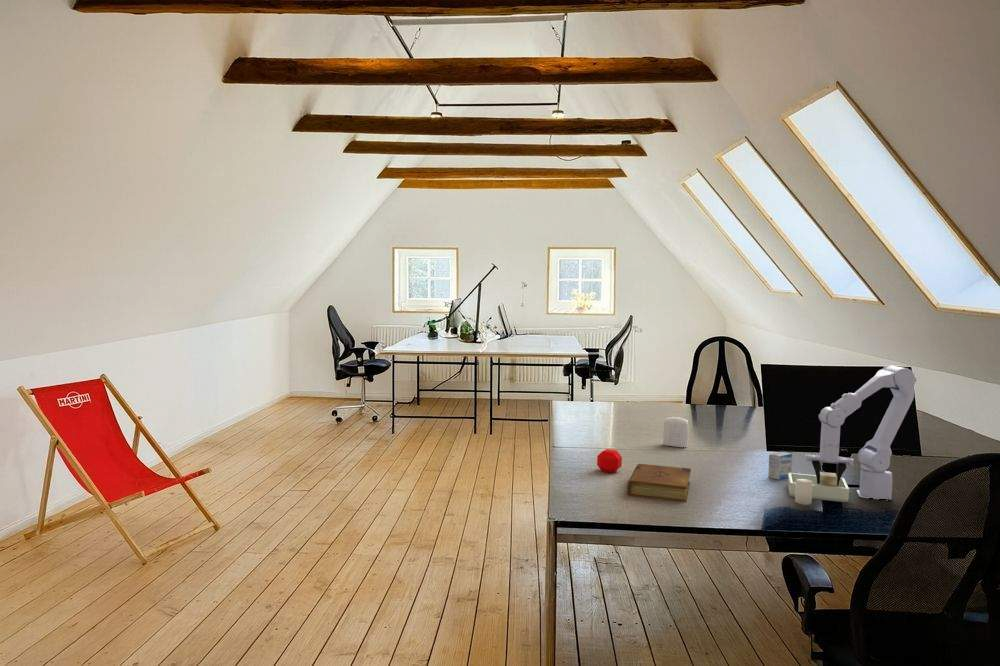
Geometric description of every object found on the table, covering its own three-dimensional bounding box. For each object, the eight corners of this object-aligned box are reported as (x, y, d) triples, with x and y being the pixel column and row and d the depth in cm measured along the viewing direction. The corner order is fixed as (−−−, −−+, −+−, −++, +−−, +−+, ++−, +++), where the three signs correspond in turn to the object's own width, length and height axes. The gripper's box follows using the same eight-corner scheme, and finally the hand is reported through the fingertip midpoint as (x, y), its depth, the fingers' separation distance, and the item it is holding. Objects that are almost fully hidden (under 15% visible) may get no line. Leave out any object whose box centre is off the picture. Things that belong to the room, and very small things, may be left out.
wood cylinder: (810, 500, 238) (812, 479, 237) (812, 505, 233) (813, 483, 233) (794, 499, 239) (795, 478, 239) (795, 503, 235) (796, 482, 234)
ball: (623, 470, 271) (624, 450, 270) (615, 475, 264) (615, 454, 263) (603, 467, 275) (603, 447, 274) (594, 471, 268) (595, 451, 267)
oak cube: (834, 488, 245) (835, 473, 245) (836, 492, 241) (837, 477, 240) (818, 486, 247) (819, 471, 246) (819, 490, 242) (820, 475, 242)
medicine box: (778, 480, 262) (780, 456, 261) (767, 477, 265) (768, 453, 264) (791, 477, 266) (792, 453, 265) (780, 474, 270) (781, 451, 269)
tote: (843, 491, 250) (843, 478, 249) (848, 502, 237) (849, 488, 237) (787, 485, 255) (788, 472, 255) (789, 496, 242) (790, 482, 242)
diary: (635, 479, 261) (636, 463, 261) (690, 484, 256) (690, 468, 256) (627, 497, 240) (627, 479, 239) (686, 503, 234) (686, 485, 234)
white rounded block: (688, 446, 311) (689, 417, 310) (686, 448, 307) (688, 419, 306) (664, 443, 315) (665, 415, 314) (662, 445, 311) (663, 417, 310)
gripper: (806, 444, 241) (804, 485, 242) (855, 448, 237) (853, 490, 238) (805, 439, 248) (803, 479, 249) (852, 444, 243) (850, 484, 244)
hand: (827, 484), depth 244 cm, fingers closed on oak cube, 5 cm apart
